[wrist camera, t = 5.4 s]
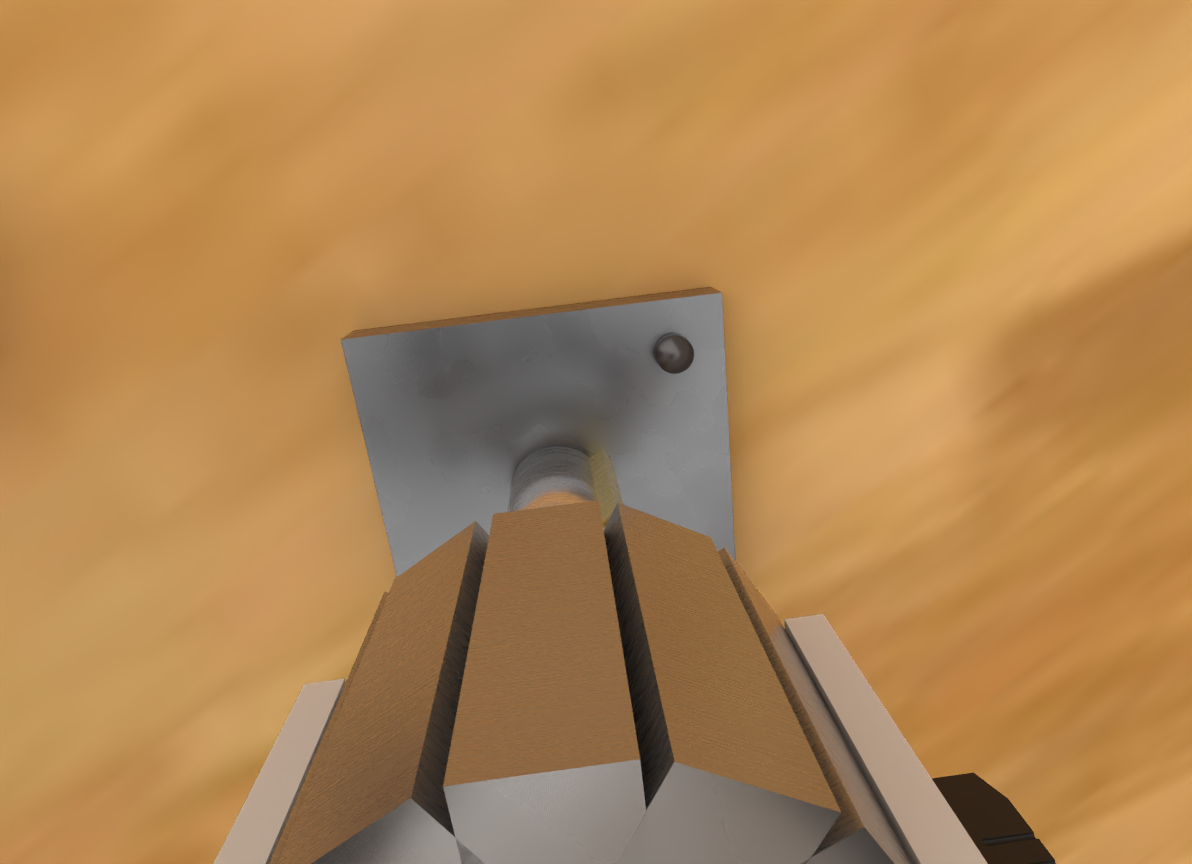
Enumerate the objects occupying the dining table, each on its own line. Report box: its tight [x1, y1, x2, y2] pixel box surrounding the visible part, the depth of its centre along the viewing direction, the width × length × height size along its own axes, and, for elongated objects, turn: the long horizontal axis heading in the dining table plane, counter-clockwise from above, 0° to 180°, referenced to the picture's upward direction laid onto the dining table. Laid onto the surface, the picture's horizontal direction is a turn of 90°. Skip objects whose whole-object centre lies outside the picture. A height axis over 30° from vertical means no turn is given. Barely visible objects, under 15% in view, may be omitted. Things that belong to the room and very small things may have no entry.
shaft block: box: [341, 287, 735, 577], centre depth 21 cm, size 12×12×8 cm
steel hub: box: [269, 500, 912, 864], centre depth 11 cm, size 8×8×6 cm
